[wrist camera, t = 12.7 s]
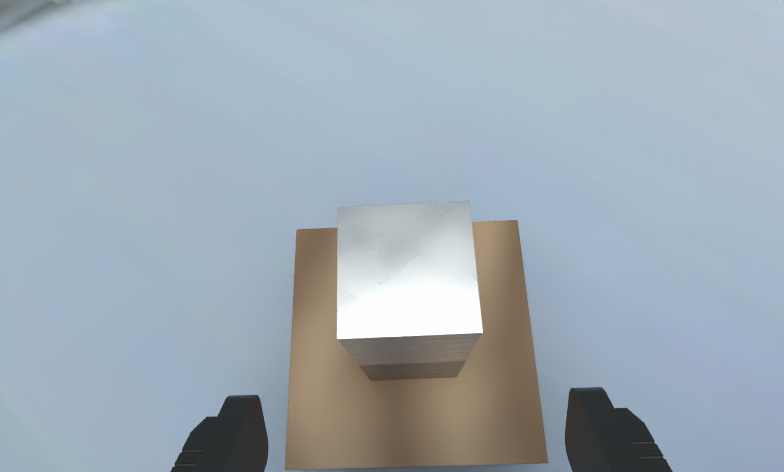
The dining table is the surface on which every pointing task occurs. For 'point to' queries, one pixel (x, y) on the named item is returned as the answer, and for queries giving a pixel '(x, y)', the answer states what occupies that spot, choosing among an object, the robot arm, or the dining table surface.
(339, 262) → the block
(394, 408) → the walnut stand
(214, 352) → the dining table surface
